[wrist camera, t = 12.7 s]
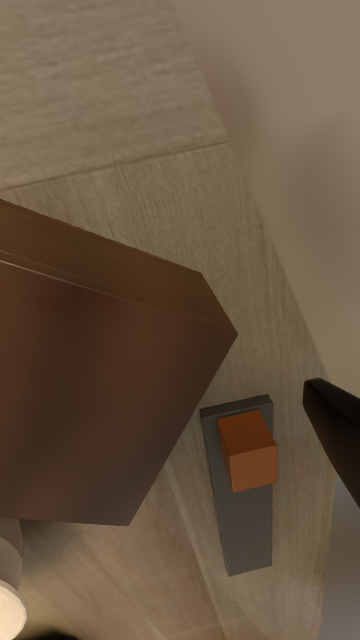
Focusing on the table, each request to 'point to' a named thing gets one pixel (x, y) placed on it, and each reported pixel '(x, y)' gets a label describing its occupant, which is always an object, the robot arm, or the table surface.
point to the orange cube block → (247, 450)
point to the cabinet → (95, 368)
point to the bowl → (11, 579)
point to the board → (240, 495)
